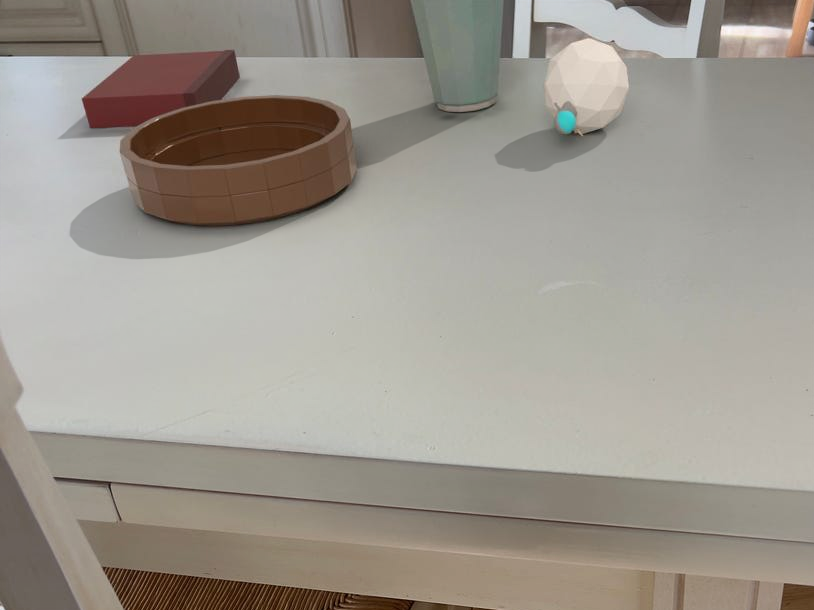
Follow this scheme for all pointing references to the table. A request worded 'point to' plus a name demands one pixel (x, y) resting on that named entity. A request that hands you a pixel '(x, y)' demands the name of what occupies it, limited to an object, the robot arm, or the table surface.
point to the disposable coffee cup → (461, 50)
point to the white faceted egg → (585, 86)
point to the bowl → (239, 159)
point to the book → (159, 86)
